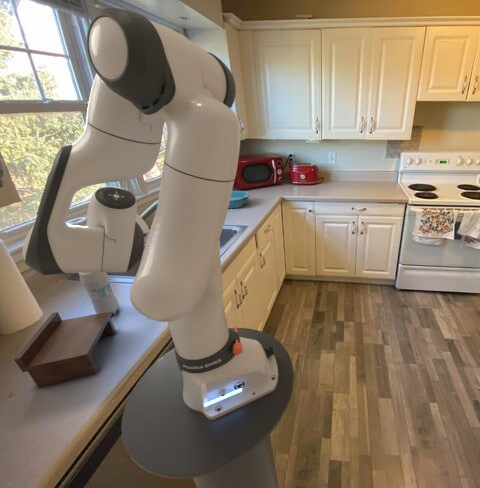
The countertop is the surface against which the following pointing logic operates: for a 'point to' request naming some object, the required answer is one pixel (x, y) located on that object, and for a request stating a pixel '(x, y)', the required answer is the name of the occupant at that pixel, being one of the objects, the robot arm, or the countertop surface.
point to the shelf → (64, 348)
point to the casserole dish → (238, 199)
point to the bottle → (100, 292)
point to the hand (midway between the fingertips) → (104, 257)
